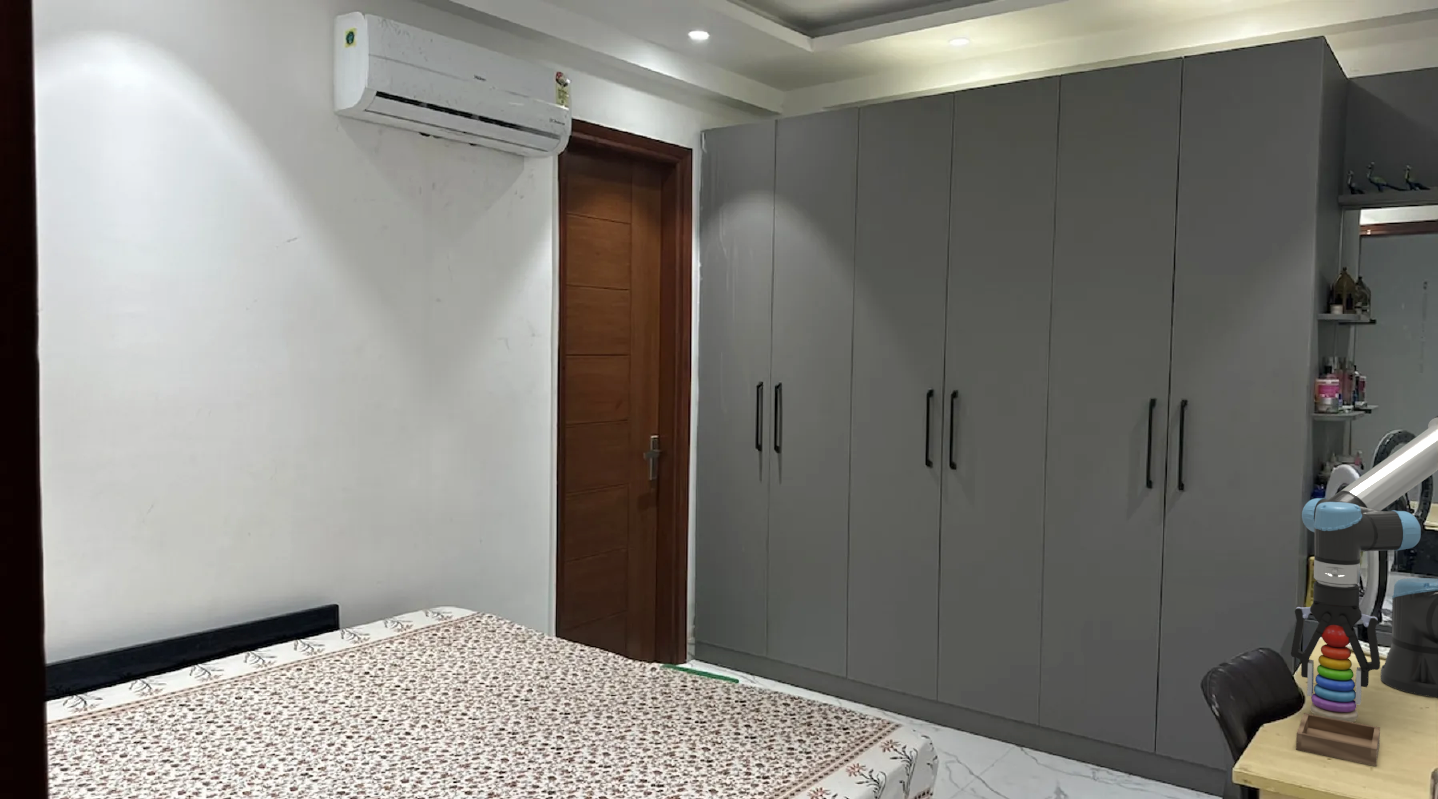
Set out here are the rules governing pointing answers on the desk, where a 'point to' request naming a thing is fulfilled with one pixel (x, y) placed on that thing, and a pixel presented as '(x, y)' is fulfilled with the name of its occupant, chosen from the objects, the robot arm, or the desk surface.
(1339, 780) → the desk surface
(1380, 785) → the desk surface
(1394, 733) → the desk surface
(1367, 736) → the walnut open square tray
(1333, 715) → the stacking toy
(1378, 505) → the robot arm
